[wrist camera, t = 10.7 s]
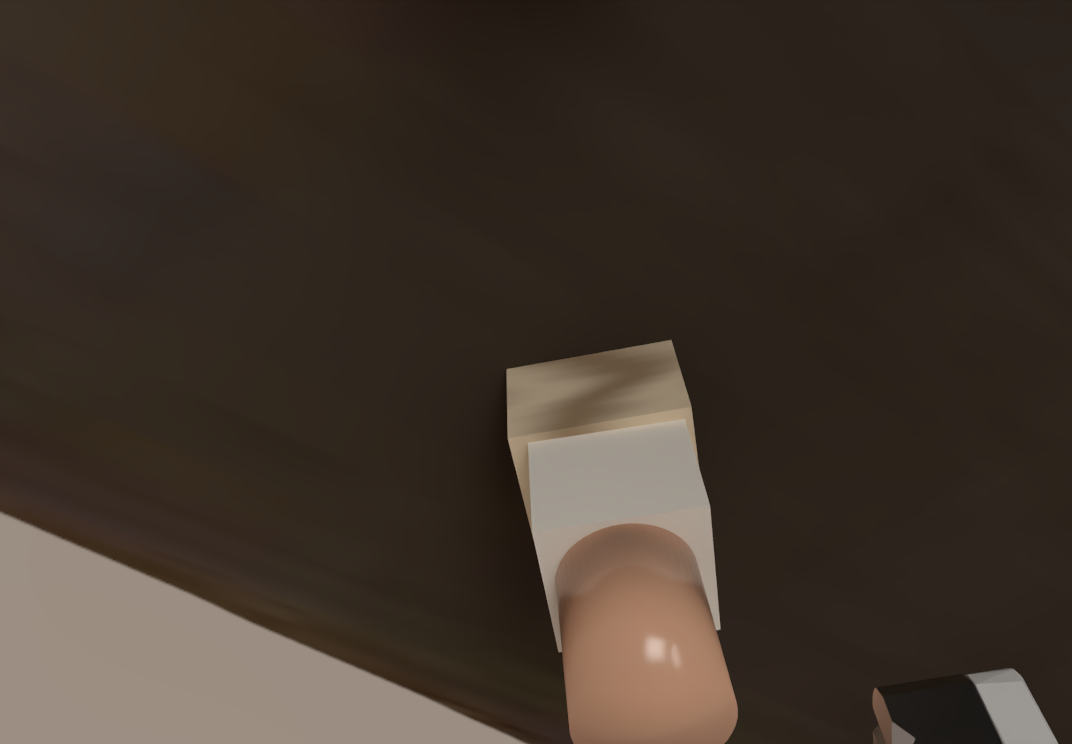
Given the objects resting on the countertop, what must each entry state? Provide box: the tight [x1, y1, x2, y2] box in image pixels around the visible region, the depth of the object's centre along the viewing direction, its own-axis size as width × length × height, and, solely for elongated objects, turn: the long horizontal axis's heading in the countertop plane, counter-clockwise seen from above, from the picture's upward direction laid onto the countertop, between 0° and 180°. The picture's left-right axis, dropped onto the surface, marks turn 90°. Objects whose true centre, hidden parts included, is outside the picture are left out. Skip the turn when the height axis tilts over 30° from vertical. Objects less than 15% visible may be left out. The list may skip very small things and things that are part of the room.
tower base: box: [506, 340, 699, 544], centre depth 40 cm, size 7×7×5 cm
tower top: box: [528, 419, 720, 652], centre depth 36 cm, size 6×6×5 cm
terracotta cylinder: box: [555, 523, 738, 744], centre depth 31 cm, size 5×5×6 cm
